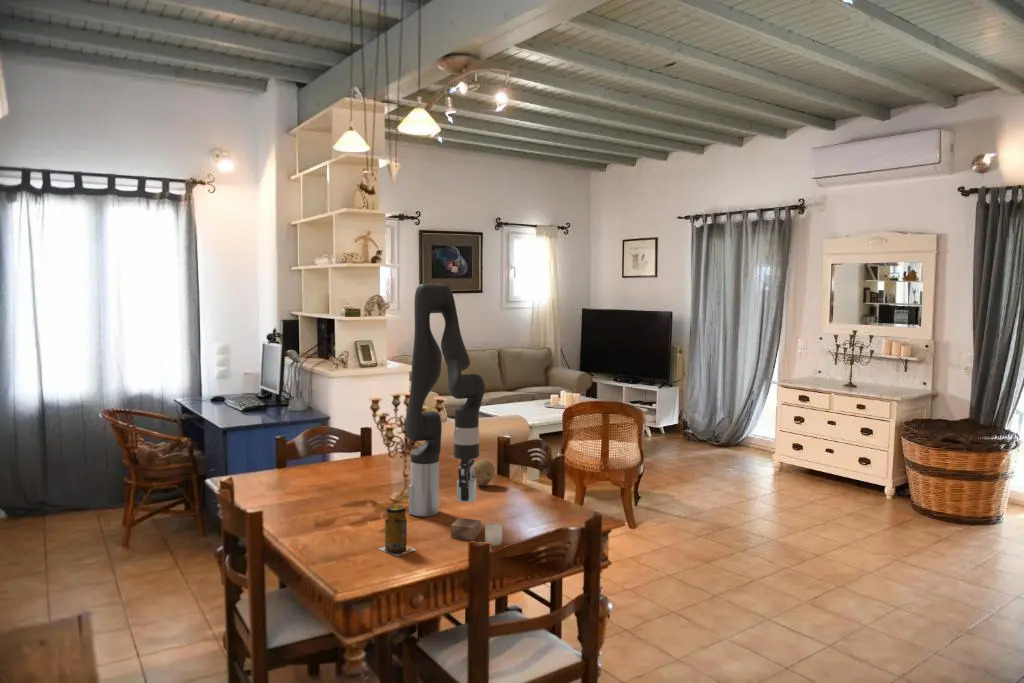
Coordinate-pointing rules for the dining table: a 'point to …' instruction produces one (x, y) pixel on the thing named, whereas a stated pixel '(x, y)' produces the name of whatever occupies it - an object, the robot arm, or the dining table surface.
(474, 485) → the pale grey block
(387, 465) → the dining table surface
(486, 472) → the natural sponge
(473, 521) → the walnut block
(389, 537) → the condiment
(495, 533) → the cream cylinder
